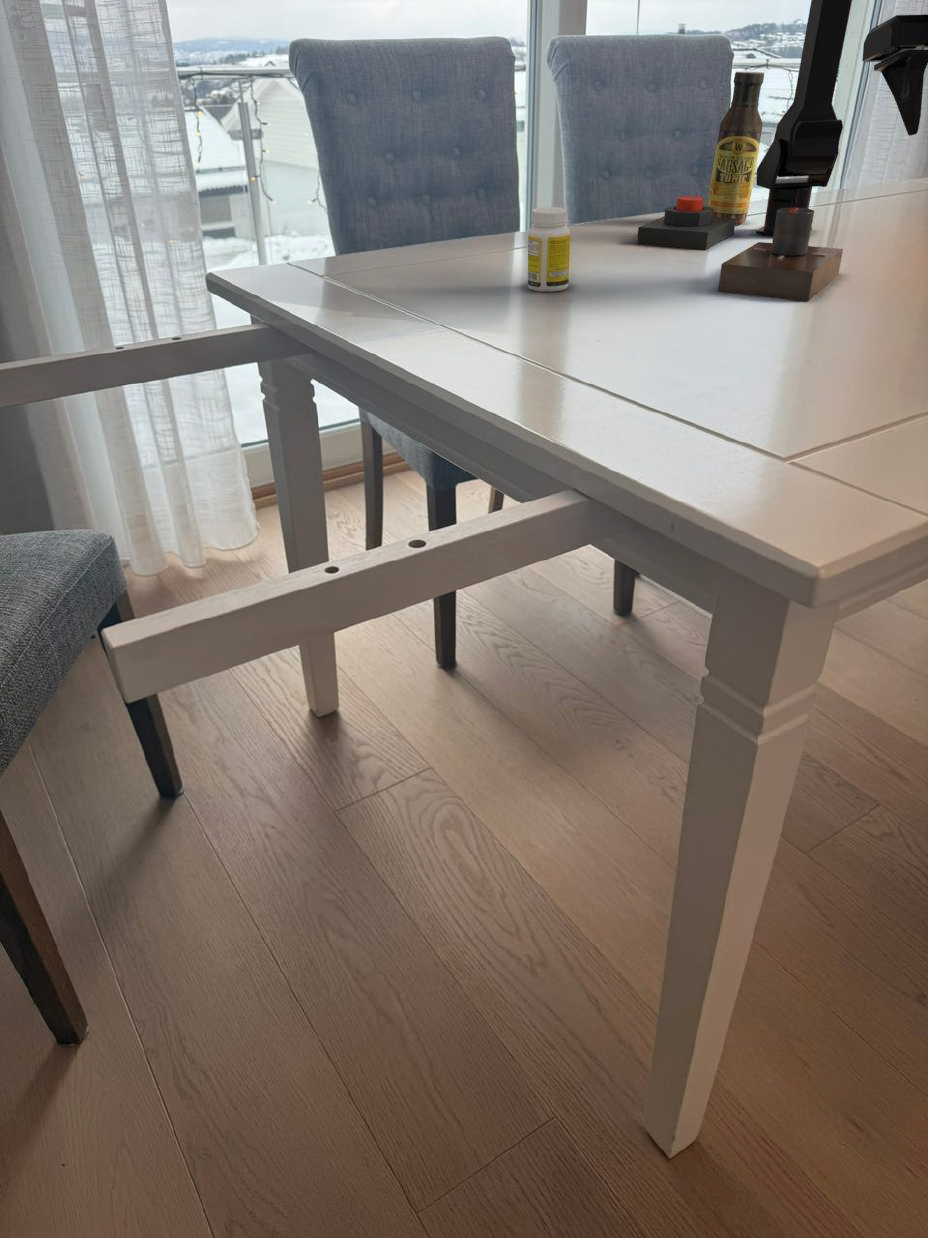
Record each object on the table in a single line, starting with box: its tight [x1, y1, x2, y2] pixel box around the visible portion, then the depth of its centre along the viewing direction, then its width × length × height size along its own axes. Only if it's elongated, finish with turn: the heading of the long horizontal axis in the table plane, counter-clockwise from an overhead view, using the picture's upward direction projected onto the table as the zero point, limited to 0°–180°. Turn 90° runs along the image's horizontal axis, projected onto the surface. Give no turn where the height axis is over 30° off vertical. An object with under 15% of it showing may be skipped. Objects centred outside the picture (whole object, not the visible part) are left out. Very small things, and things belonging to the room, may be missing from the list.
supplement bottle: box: [527, 206, 571, 293], centre depth 103 cm, size 5×5×8 cm
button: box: [675, 195, 705, 211], centre depth 125 cm, size 4×4×2 cm
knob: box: [771, 207, 815, 256], centre depth 103 cm, size 4×4×5 cm
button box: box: [636, 205, 736, 251], centre depth 127 cm, size 12×10×4 cm
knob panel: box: [717, 241, 844, 302], centre depth 104 cm, size 14×10×3 cm
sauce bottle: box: [706, 71, 765, 226], centre depth 133 cm, size 6×6×20 cm
